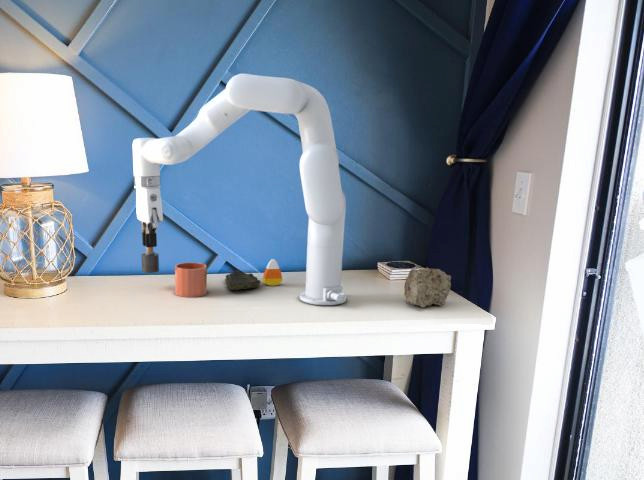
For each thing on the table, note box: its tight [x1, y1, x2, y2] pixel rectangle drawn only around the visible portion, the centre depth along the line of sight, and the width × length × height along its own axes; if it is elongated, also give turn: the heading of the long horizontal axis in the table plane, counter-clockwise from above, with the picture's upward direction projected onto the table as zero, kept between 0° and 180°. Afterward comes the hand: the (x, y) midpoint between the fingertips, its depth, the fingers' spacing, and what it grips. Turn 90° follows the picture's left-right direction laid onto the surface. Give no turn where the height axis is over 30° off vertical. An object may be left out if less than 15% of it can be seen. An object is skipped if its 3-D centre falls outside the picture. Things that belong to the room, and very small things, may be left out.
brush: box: [140, 232, 160, 274], centre depth 186 cm, size 5×5×13 cm
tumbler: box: [174, 262, 208, 298], centre depth 182 cm, size 9×9×8 cm
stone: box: [224, 269, 261, 291], centre depth 191 cm, size 19×4×10 cm
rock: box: [403, 267, 452, 308], centre depth 171 cm, size 11×12×10 cm
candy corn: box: [262, 258, 283, 287], centre depth 191 cm, size 6×3×8 cm, turn 93°
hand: (149, 245), depth 185 cm, fingers closed on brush
